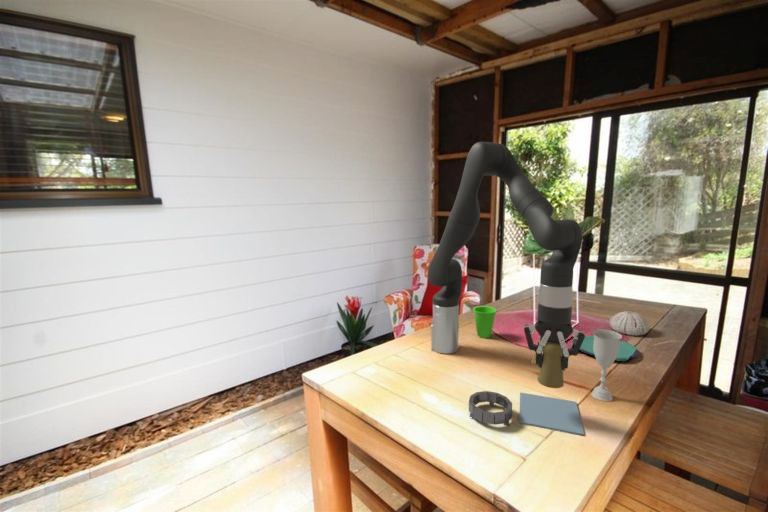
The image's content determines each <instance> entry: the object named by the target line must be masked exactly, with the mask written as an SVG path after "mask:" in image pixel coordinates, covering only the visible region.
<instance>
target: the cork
mask: <svg viewBox="0 0 768 512" xmlns="http://www.w3.org/2000/svg"><path fill="white" fill-rule="evenodd" d="M562 354H563V349H562V348H561V345H560V344H559V343H554V342H546V345H545V346H543V347H542V367H539V371H538V375H537V382H538V384H540V385H541V386H544V387H546V388H550V389H560V388H562V387H564V386H565V384H564V383H565V381H564V371H563V370H562V359H561V355H562Z"/></svg>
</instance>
